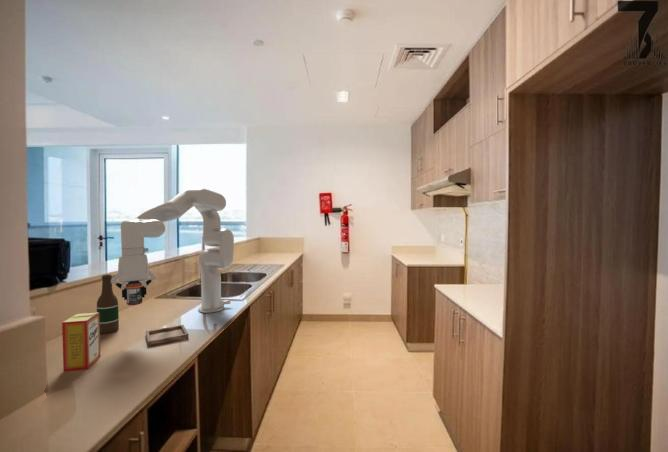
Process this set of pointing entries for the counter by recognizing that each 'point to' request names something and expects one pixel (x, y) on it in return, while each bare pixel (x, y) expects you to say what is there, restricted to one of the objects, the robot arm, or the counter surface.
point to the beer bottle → (108, 307)
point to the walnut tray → (166, 335)
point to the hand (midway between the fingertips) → (134, 297)
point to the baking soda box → (81, 341)
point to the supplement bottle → (134, 293)
